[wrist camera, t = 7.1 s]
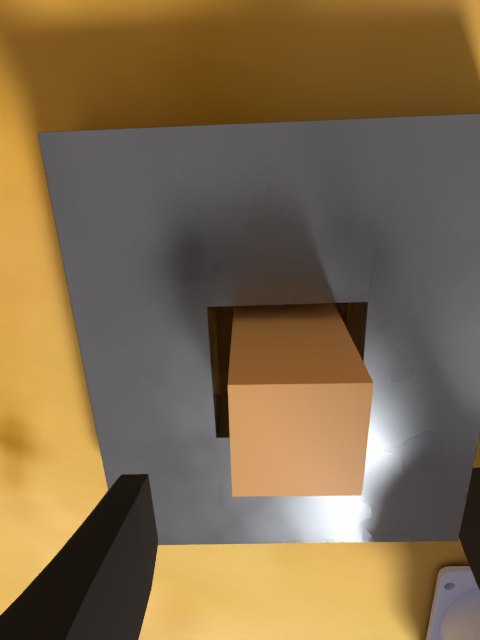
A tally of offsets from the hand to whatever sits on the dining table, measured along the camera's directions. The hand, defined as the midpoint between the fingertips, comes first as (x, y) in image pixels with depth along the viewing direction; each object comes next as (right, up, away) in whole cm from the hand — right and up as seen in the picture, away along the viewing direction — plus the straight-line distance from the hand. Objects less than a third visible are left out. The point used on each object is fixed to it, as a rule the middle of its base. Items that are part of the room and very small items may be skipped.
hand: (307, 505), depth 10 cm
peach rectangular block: (0, +4, +8) cm, 9 cm away
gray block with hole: (0, +3, +8) cm, 9 cm away
